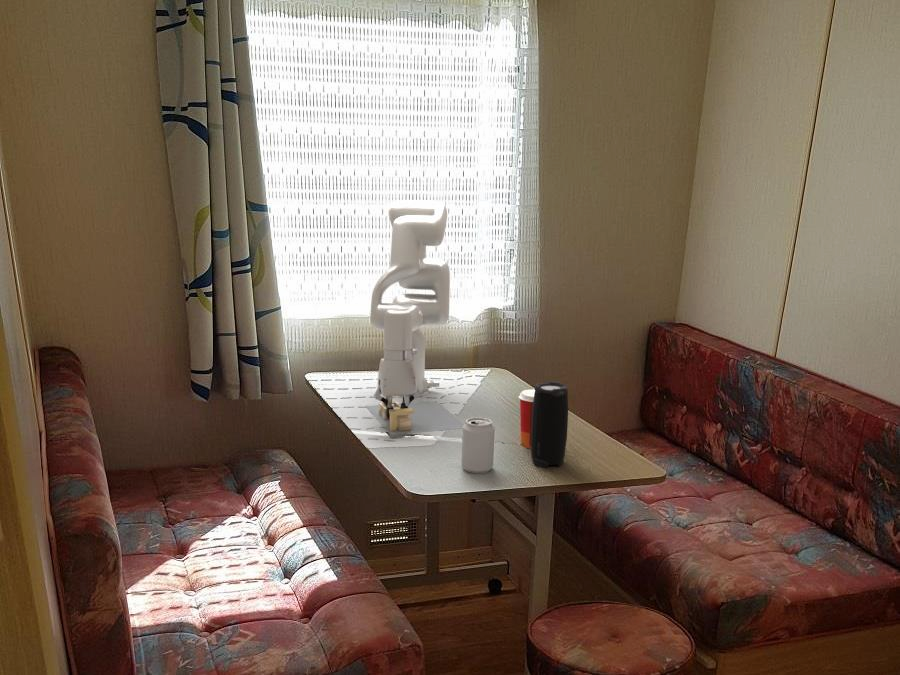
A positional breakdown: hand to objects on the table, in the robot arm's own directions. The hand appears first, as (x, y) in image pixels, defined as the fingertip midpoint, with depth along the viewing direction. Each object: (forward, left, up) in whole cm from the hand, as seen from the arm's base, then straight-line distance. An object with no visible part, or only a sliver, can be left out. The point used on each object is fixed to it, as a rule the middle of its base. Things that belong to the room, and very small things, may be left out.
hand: (397, 419), depth 223 cm
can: (-9, +37, -2) cm, 38 cm away
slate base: (-6, -4, -2) cm, 7 cm away
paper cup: (-29, +25, -2) cm, 38 cm away
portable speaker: (-27, +38, -2) cm, 47 cm away
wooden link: (0, 0, -1) cm, 1 cm away
